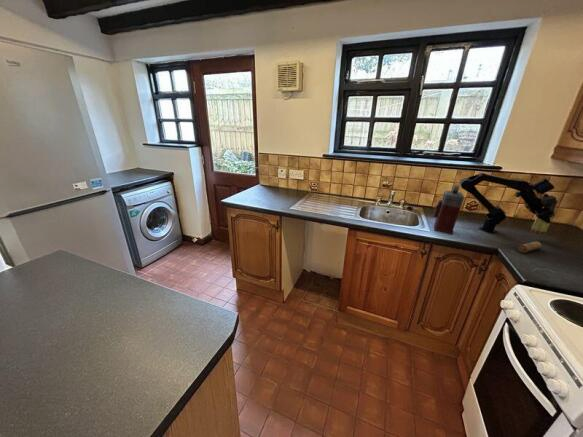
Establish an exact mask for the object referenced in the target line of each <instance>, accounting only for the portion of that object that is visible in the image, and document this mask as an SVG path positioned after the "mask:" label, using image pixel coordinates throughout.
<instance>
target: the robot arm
mask: <svg viewBox="0 0 583 437" xmlns="http://www.w3.org/2000/svg"><path fill="white" fill-rule="evenodd" d="M482 182H489V183H492V184H497V185H500V186H505V187H508V188H511V189H513V190H515V191H516V192H515V193H514V197H516V198H522V200H523V203H524V205H523V206H524V207H525V209H526V210H528V211H529V212H530V213H532V214H533V215H535V218H537V217H538V218H539V219H541V220H543V221H545V222H547V223H550V224H551V223H552V221H550V217H549V216H550V215H552V214H554V212H553V211H552V210H551V209H549V208H544V207H546V205H548V204H556V203H557V201H556V200H557V197H556V196H554V195H552V194H550V195H549V194H548V192H550V191H553V190H554V189H556V187H555V186H554V184H552V183H551V182H550V181H549V180H548V179H547V178H543V179H541V180H539V181H537V182H535V183H533V182H529V181H527V180H525V179H523V178H514V177H513V178H509V177H504V176H499V175H494V174H490V173H485V172H479V173H477V174H474V175H471V176H468V177H463V178H461V179H460V181H459V183H458V185H459V187H461V188H462V189H463V190H465V192H466V193H469V194H471V195H472V196H473V197H474V198H475V200H477V202H479V203H480V204H481V205H482V206H483V207H484V208H485V209H486V210H487V212H488V213H486V214H485V215H484V218H485V220H484V222H483V225H482V226H481V227H479V228H478V229H479V230H482V231H484V232H486V233H489V234H492V233H497V230H496V227H497V225H500V224H501V222H503V221H505V220H506V218H507V215H506V211H505V210H504V209H503V208H501V206H500V205H498V204H497V205H494V204H493V203H491V201H490V200H488V199H487V198H486V197H485V195H484V194H482V193H481V192H480V191H479V189H478V188H477V187H476V186H477V185H478V184H480V183H482ZM539 194H540V195H541V197H539V196H538V195H539ZM557 204H558V203H557ZM557 204H556V205H557Z"/></svg>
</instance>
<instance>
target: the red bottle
mask: <svg viewBox="0 0 583 437" xmlns="http://www.w3.org/2000/svg"><path fill="white" fill-rule="evenodd" d="M459 190H460V184H454V185H453V187H452V190H444V192H443V195H442V198H441V199H438V201H437V203H436V204H435V208H434V211H433V218H435V221H434V224H433V230H434V232H437V233H443V234H447V235H452V234H453V231H454V229H455V225H456V223H457V220H458V217H459V214H460V212H461V211H460V210H461V208H462V205H463V204H464V203H463V202H464V199H465V196H464V194H463V193H462V192H460V191H459Z"/></svg>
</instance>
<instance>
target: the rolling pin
mask: <svg viewBox="0 0 583 437" xmlns="http://www.w3.org/2000/svg"><path fill="white" fill-rule="evenodd" d="M541 248H542V244H541V243H540V242H539V241H532V242H528V243H525V244H519V245H518V247H517V251H519V252H520V253H523V254H524V253H525V254H526V253H528V252H533V251H536V250H540V249H541Z"/></svg>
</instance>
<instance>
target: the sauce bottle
mask: <svg viewBox="0 0 583 437" xmlns="http://www.w3.org/2000/svg"><path fill="white" fill-rule="evenodd" d="M556 201H557V203H556V204H548V205H546V207H543V208H549V209H551V210H552V211H553V212H554V214H552V215H550V216H549V217H550V221H551V222H552V221H553V220H554V217H555V211H556V207H557V204H558V203H559V200H558V199H556ZM550 226H551V223H547V222H545V221H543V220H541V219H539V218H538V217H535V219H534V222H533V224H532V226H531V228H530V231H531V232H532V233H534V234H537V235H545V234H546V233H547V232H548V229H549V227H550Z"/></svg>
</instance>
